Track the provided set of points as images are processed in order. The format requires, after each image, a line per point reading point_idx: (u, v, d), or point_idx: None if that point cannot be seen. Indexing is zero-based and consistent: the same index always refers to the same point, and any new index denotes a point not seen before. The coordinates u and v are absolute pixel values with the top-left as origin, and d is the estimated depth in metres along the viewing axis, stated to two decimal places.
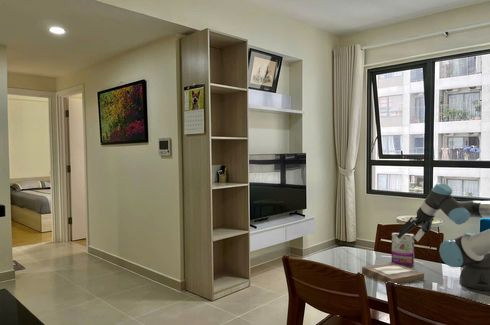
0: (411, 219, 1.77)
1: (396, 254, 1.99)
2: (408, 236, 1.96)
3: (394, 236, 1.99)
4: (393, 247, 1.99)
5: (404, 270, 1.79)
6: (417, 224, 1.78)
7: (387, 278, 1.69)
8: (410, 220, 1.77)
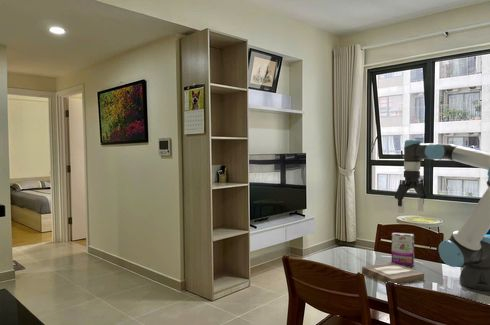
0: (401, 181, 1.83)
1: (396, 254, 1.99)
2: (408, 236, 1.96)
3: (394, 236, 1.99)
4: (393, 247, 1.99)
5: (404, 270, 1.79)
6: (409, 185, 1.83)
7: (387, 278, 1.69)
8: (400, 182, 1.83)
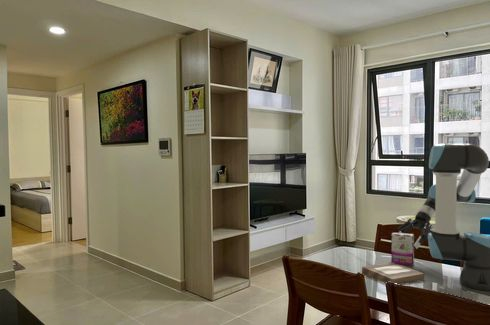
0: None
1: (396, 254, 1.99)
2: (408, 236, 1.96)
3: (394, 236, 1.99)
4: (393, 247, 1.99)
5: (404, 270, 1.79)
6: (412, 222, 2.07)
7: (387, 278, 1.69)
8: None
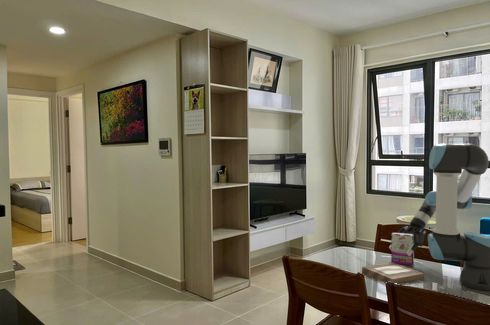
0: None
1: (396, 254, 1.99)
2: (408, 236, 1.96)
3: (394, 236, 1.99)
4: (393, 247, 1.99)
5: (404, 270, 1.79)
6: (407, 229, 2.04)
7: (387, 278, 1.69)
8: None
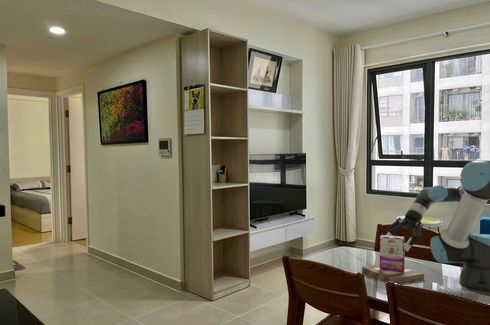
0: None
1: (385, 259, 1.78)
2: (398, 239, 1.75)
3: (383, 239, 1.79)
4: (381, 251, 1.79)
5: (404, 270, 1.79)
6: (401, 222, 1.87)
7: (387, 278, 1.69)
8: None
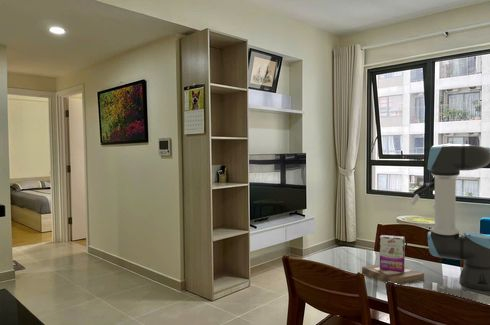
0: None
1: (385, 259, 1.78)
2: (398, 239, 1.75)
3: (383, 239, 1.79)
4: (381, 251, 1.79)
5: (404, 270, 1.79)
6: (428, 185, 2.05)
7: (387, 278, 1.69)
8: None
